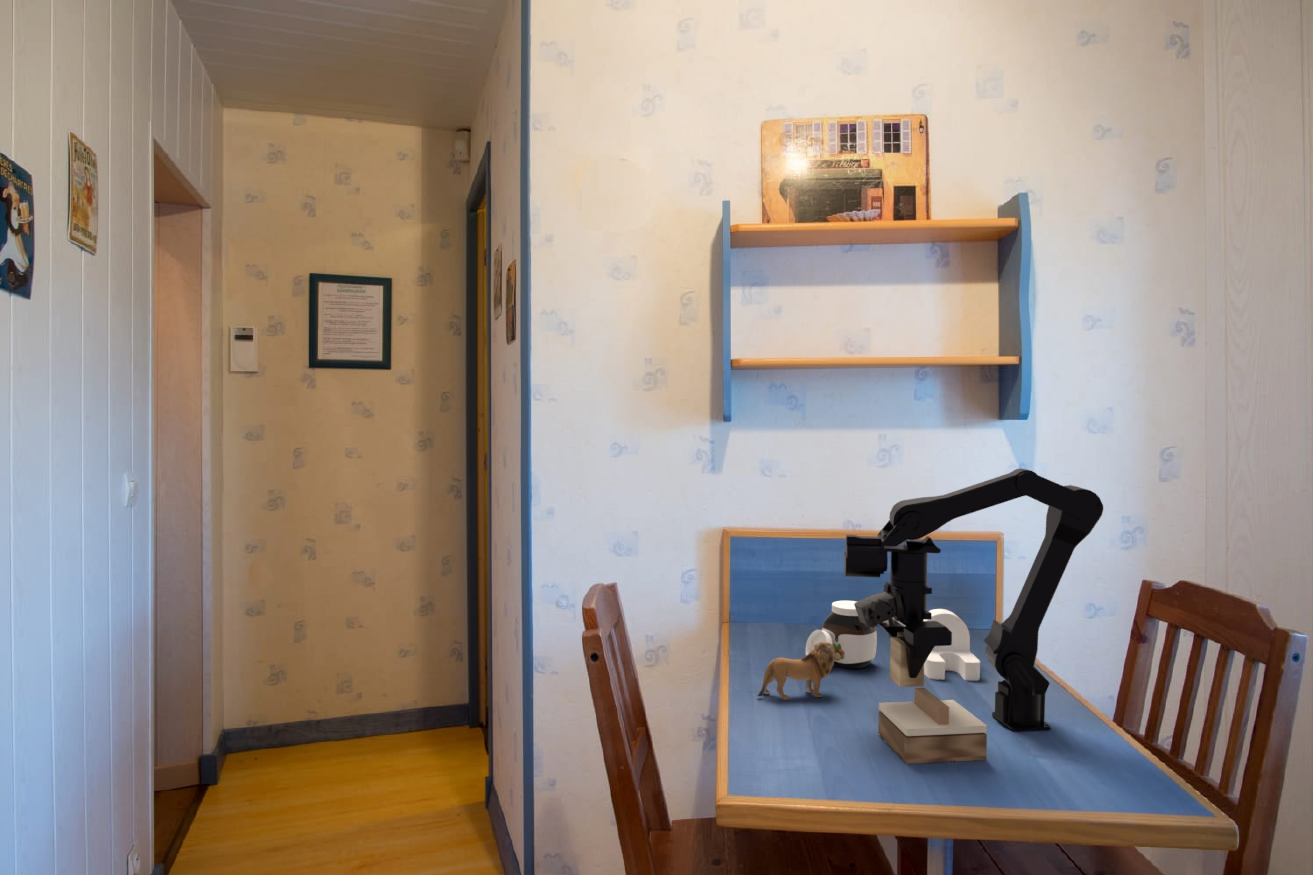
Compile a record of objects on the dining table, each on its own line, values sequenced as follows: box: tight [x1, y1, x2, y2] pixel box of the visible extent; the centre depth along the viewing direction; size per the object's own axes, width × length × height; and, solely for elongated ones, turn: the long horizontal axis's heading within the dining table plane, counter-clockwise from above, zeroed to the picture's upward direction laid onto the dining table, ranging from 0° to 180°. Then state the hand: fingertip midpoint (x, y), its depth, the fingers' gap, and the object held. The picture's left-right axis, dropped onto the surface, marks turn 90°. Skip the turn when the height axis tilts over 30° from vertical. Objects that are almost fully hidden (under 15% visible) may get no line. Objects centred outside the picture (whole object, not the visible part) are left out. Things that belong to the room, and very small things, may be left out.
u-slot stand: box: [924, 608, 981, 682], centre depth 156 cm, size 10×18×11 cm, turn 176°
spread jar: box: [805, 600, 878, 669], centre depth 156 cm, size 12×11×12 cm
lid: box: [878, 687, 988, 736], centre depth 118 cm, size 12×10×4 cm
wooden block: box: [889, 632, 925, 688], centre depth 130 cm, size 4×4×8 cm
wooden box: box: [878, 710, 988, 765], centre depth 118 cm, size 12×10×4 cm
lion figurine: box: [756, 641, 836, 701], centre depth 139 cm, size 15×5×9 cm, turn 107°
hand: (907, 673), depth 130 cm, fingers closed on wooden block, 4 cm apart
